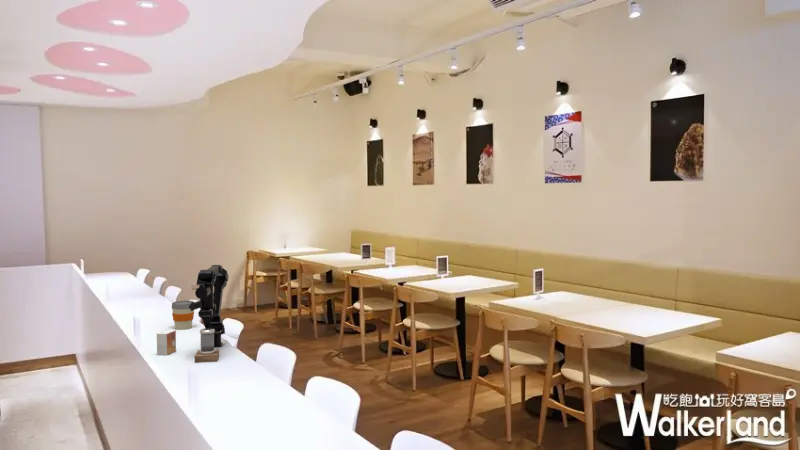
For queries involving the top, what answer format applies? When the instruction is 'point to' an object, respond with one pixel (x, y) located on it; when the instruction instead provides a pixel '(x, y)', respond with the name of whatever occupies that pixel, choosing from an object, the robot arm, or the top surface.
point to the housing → (207, 341)
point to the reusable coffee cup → (182, 315)
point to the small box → (166, 342)
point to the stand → (207, 357)
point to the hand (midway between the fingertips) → (207, 326)
